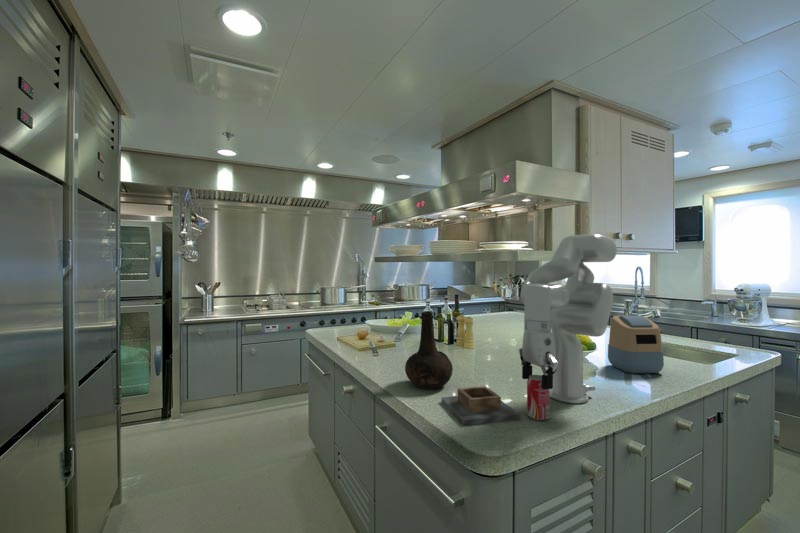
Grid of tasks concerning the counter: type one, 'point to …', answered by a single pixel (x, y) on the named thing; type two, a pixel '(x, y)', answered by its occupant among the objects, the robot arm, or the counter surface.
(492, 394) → the can holder
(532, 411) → the beverage can
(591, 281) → the robot arm
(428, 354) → the dark brown vase
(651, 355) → the tan and blue appliance
